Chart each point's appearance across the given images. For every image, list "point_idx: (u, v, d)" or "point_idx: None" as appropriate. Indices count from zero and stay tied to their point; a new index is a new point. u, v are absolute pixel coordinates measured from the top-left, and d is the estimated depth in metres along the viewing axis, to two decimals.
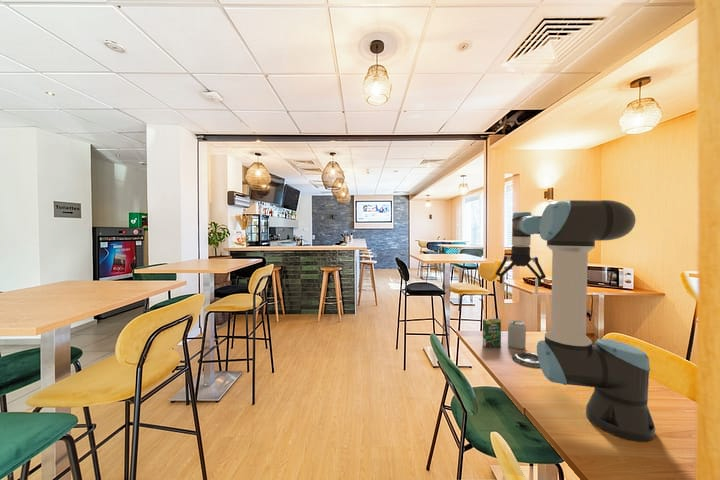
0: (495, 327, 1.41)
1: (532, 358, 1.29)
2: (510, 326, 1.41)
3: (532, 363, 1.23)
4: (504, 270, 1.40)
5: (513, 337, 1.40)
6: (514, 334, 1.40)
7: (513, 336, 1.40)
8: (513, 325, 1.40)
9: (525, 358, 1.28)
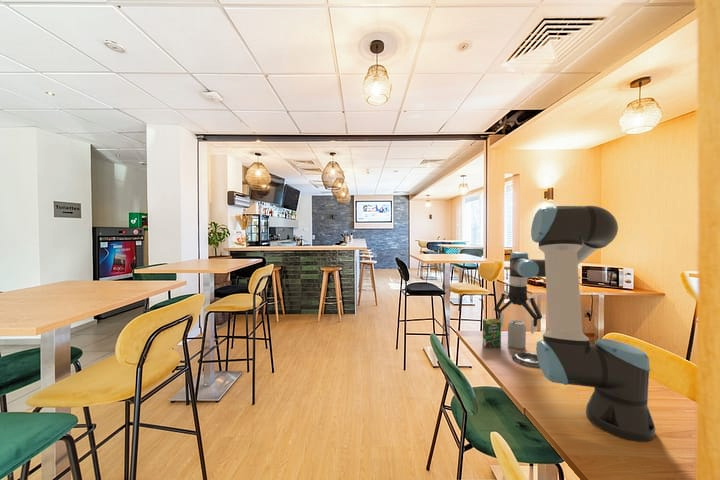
0: (495, 327, 1.41)
1: (532, 358, 1.29)
2: (510, 326, 1.41)
3: (532, 363, 1.23)
4: (502, 307, 1.46)
5: (513, 337, 1.40)
6: (514, 334, 1.40)
7: (513, 336, 1.40)
8: (513, 325, 1.40)
9: (525, 358, 1.28)
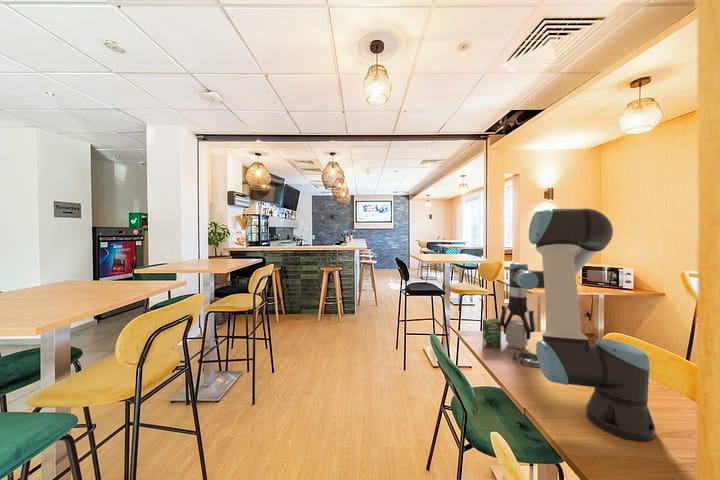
0: (495, 327, 1.41)
1: (532, 358, 1.29)
2: (510, 326, 1.41)
3: (532, 363, 1.23)
4: (506, 321, 1.45)
5: (513, 337, 1.40)
6: (514, 334, 1.40)
7: (513, 336, 1.40)
8: (513, 325, 1.40)
9: (525, 358, 1.28)
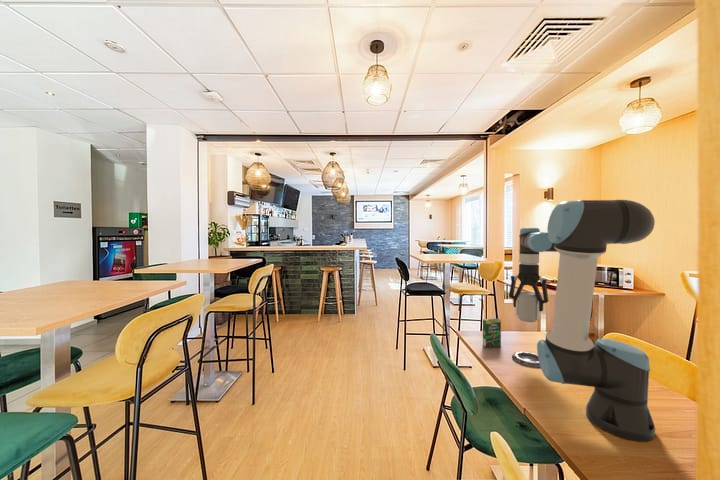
0: (495, 327, 1.41)
1: (532, 358, 1.29)
2: (521, 297, 1.28)
3: (532, 363, 1.23)
4: (516, 292, 1.32)
5: (524, 309, 1.27)
6: (525, 305, 1.27)
7: (524, 308, 1.27)
8: (524, 296, 1.27)
9: (525, 358, 1.28)
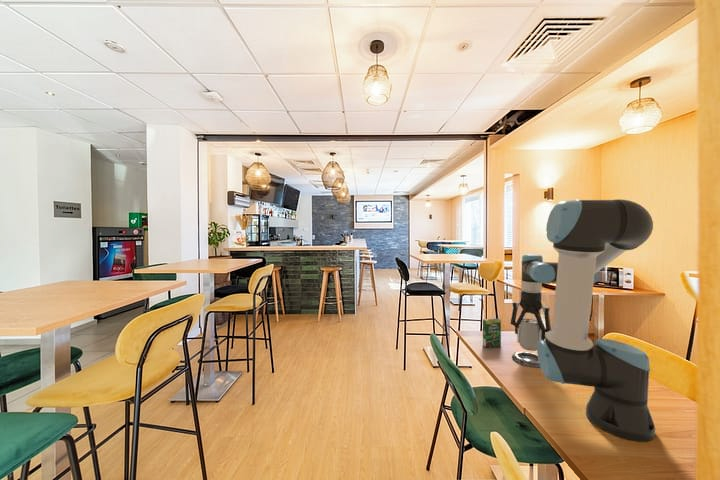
0: (495, 327, 1.41)
1: (532, 358, 1.29)
2: (523, 325, 1.26)
3: (532, 363, 1.23)
4: None
5: (526, 337, 1.25)
6: (527, 334, 1.24)
7: (526, 336, 1.25)
8: (526, 324, 1.25)
9: (525, 358, 1.28)
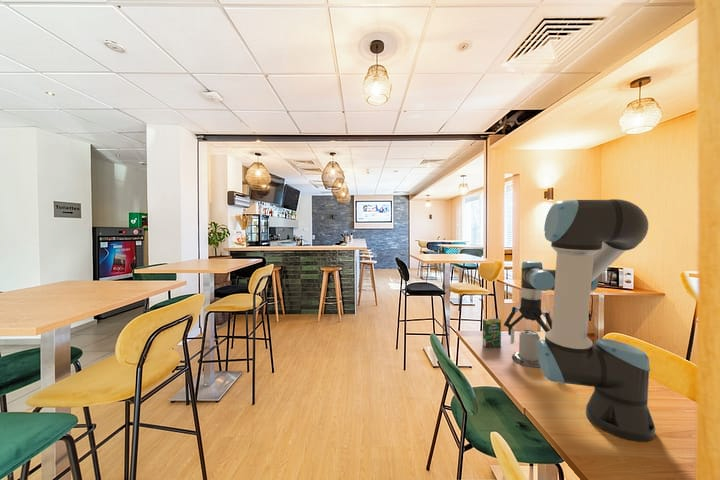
0: (495, 327, 1.41)
1: None
2: (522, 336, 1.27)
3: (532, 363, 1.23)
4: (513, 322, 1.31)
5: (525, 349, 1.25)
6: (527, 345, 1.25)
7: (525, 348, 1.25)
8: (525, 335, 1.26)
9: None
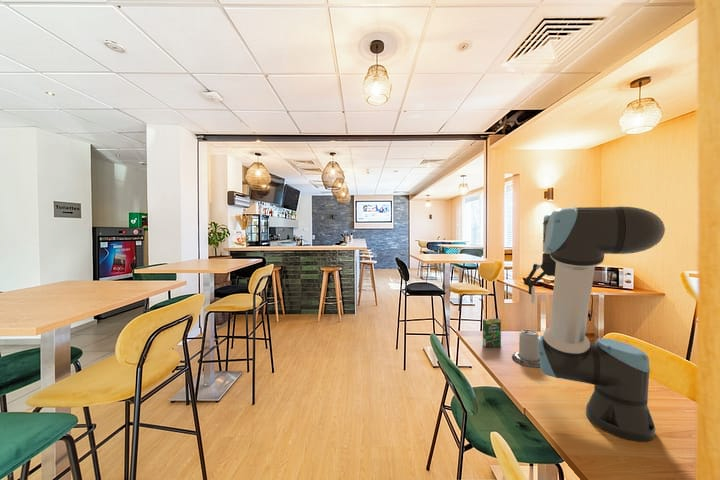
0: (495, 327, 1.41)
1: None
2: (522, 336, 1.26)
3: (532, 363, 1.23)
4: (534, 280, 1.25)
5: (525, 349, 1.25)
6: (527, 345, 1.25)
7: (525, 348, 1.25)
8: (525, 335, 1.25)
9: None
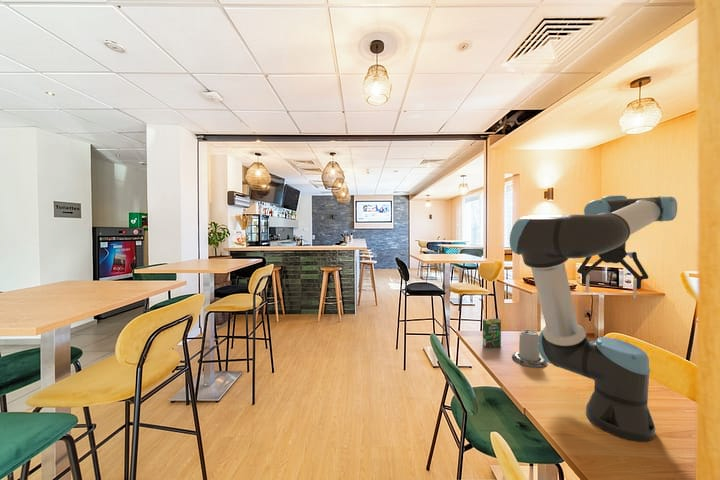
0: (495, 327, 1.41)
1: None
2: (522, 336, 1.26)
3: (532, 363, 1.23)
4: (589, 267, 1.16)
5: (525, 349, 1.25)
6: (527, 345, 1.25)
7: (525, 348, 1.25)
8: (525, 335, 1.25)
9: None
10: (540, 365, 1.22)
